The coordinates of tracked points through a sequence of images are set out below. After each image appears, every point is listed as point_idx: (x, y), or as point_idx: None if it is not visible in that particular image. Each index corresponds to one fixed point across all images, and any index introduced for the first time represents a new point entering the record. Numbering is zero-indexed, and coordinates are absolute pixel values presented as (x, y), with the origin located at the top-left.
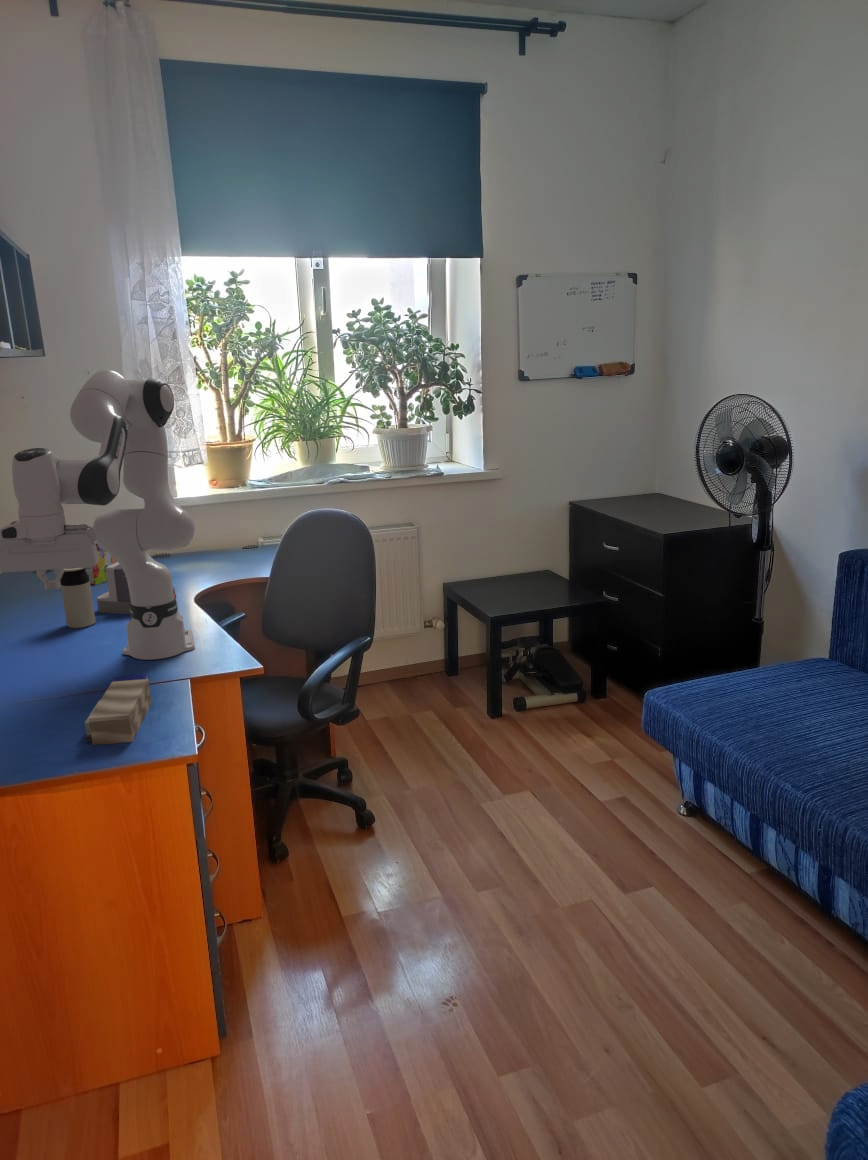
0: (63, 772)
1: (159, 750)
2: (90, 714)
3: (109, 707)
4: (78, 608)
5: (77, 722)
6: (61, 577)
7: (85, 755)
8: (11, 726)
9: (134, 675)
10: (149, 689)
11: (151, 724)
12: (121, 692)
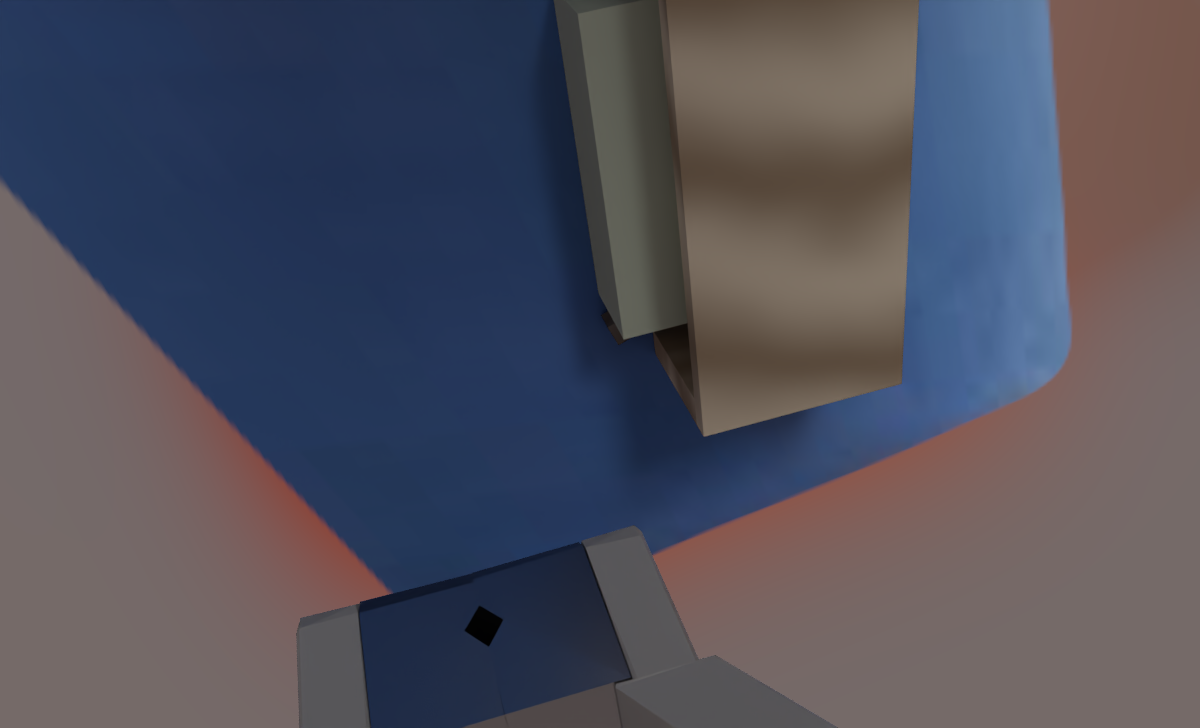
0: None
1: (960, 366)
2: (612, 237)
3: (774, 306)
4: None
5: (445, 103)
6: (773, 699)
7: (659, 439)
8: (12, 177)
9: None
10: None
11: None
12: (785, 79)
